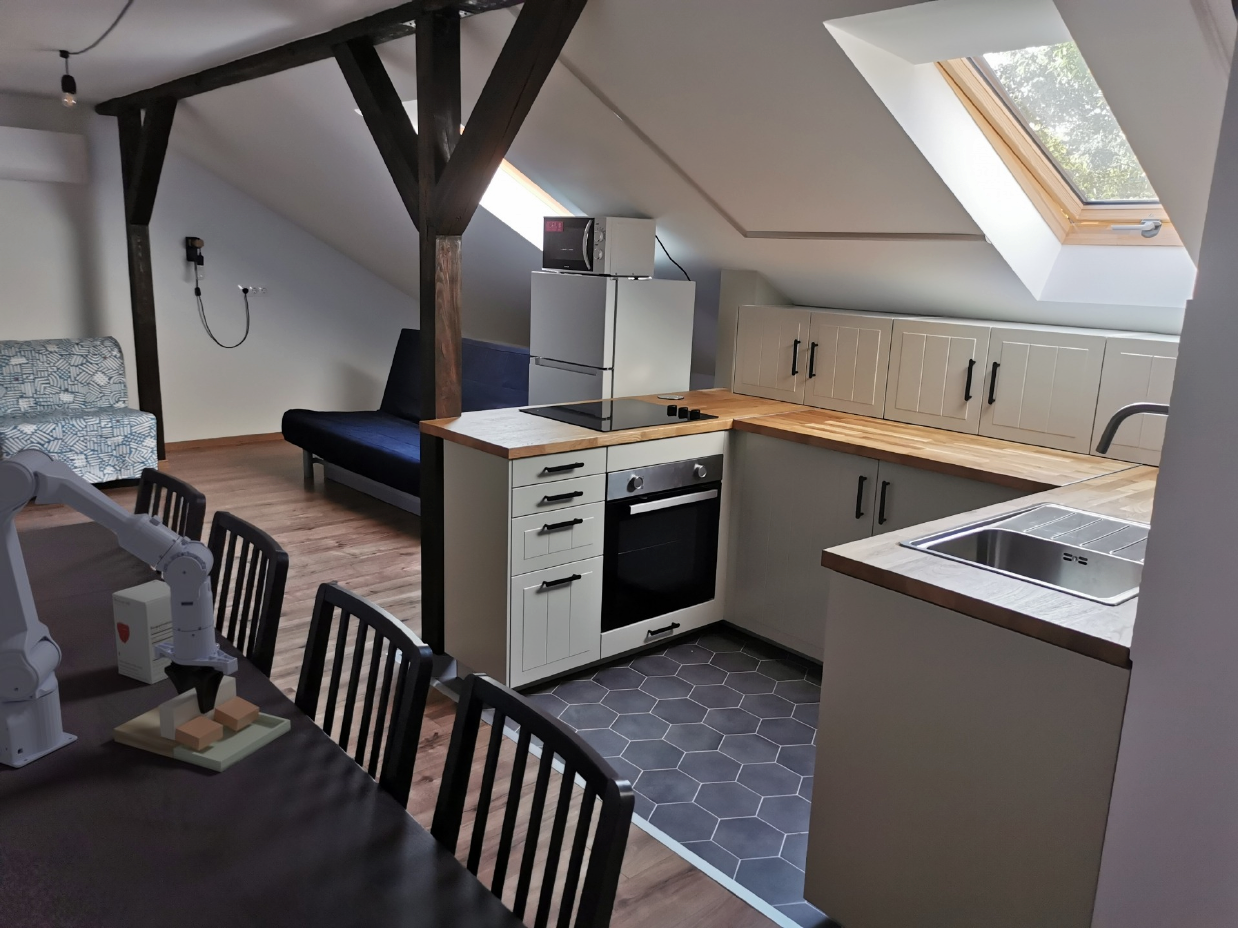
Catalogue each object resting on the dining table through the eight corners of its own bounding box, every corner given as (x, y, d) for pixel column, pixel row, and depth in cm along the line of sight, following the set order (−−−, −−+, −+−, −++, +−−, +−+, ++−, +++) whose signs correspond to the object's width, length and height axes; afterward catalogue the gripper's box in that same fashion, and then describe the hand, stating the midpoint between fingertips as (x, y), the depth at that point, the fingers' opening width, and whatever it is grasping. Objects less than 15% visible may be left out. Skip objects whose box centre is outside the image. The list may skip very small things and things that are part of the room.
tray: (221, 771, 134) (220, 761, 133) (174, 758, 137) (173, 748, 137) (290, 729, 146) (290, 719, 146) (245, 717, 150) (245, 708, 149)
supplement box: (116, 674, 164) (109, 592, 161) (162, 656, 172) (156, 578, 169) (150, 685, 160) (144, 602, 157) (196, 667, 168) (190, 587, 165)
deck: (174, 758, 137) (173, 745, 137) (114, 740, 141) (113, 728, 141) (245, 717, 150) (245, 706, 149) (189, 703, 154) (188, 691, 154)
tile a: (198, 750, 136) (199, 738, 136) (175, 740, 138) (175, 728, 137) (222, 736, 140) (223, 724, 140) (199, 727, 142) (200, 715, 141)
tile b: (236, 730, 143) (237, 719, 142) (213, 719, 144) (215, 707, 144) (257, 718, 147) (259, 707, 147) (235, 706, 149) (237, 696, 148)
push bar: (175, 740, 138) (173, 708, 137) (161, 736, 139) (158, 704, 138) (236, 707, 149) (235, 677, 148) (223, 703, 150) (221, 674, 149)
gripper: (250, 623, 142) (255, 707, 144) (178, 608, 147) (184, 689, 150) (214, 639, 135) (220, 726, 138) (140, 623, 140) (147, 707, 143)
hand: (199, 708), depth 143 cm, fingers closed on push bar, 3 cm apart
